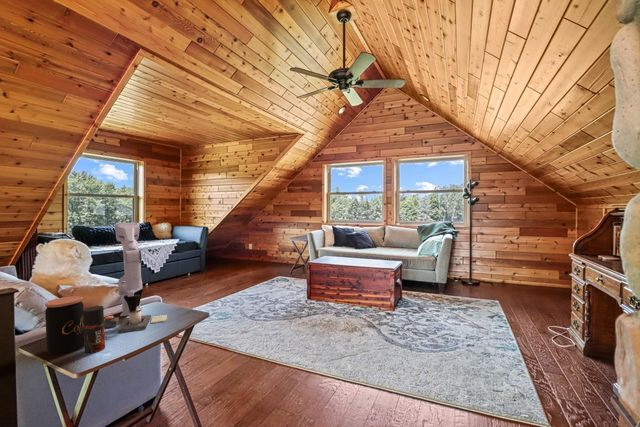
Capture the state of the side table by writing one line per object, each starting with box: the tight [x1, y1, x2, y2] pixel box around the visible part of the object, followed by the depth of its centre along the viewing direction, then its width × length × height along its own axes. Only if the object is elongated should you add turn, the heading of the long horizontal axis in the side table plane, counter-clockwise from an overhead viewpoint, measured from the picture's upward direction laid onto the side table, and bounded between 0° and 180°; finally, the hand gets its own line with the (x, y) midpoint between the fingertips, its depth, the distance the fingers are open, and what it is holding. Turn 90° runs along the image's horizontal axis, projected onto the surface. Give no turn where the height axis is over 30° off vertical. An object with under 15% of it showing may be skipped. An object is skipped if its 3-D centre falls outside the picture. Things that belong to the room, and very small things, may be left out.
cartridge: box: [128, 306, 142, 325], centre depth 133 cm, size 5×5×7 cm
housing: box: [117, 314, 152, 334], centre depth 134 cm, size 14×10×2 cm
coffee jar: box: [44, 295, 85, 356], centre depth 112 cm, size 11×11×18 cm
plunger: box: [104, 315, 115, 322], centre depth 133 cm, size 3×3×3 cm
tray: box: [150, 314, 168, 324], centre depth 140 cm, size 8×6×1 cm
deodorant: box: [83, 305, 106, 354], centre depth 111 cm, size 6×6×15 cm
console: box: [104, 316, 120, 329], centre depth 133 cm, size 5×6×2 cm
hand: (134, 308), depth 133 cm, fingers open, 7 cm apart
